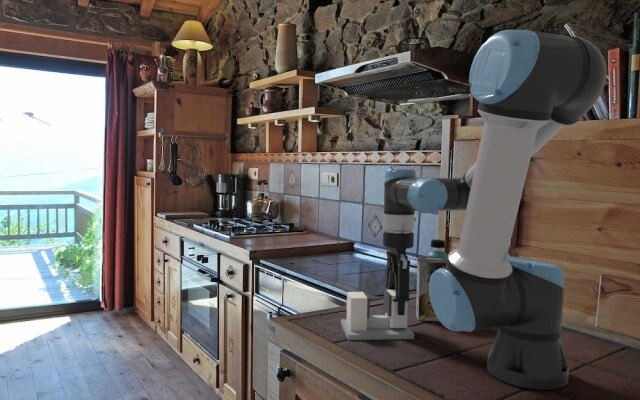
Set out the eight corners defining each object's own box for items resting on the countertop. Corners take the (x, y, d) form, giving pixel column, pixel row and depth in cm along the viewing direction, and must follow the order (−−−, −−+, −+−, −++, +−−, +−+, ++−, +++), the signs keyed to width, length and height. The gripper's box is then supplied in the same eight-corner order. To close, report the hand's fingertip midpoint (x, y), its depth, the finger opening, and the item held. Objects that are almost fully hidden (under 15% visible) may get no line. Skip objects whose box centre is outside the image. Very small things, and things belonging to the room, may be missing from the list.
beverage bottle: (429, 302, 152) (431, 237, 151) (450, 306, 148) (452, 239, 147) (420, 307, 147) (422, 239, 145) (441, 311, 143) (444, 242, 142)
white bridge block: (407, 327, 123) (407, 295, 122) (388, 328, 123) (389, 295, 122) (400, 320, 129) (401, 289, 128) (383, 320, 129) (383, 289, 128)
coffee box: (448, 315, 140) (450, 257, 139) (452, 322, 134) (454, 262, 132) (415, 313, 141) (417, 256, 140) (417, 320, 134) (419, 261, 133)
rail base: (414, 338, 120) (415, 301, 120) (348, 340, 119) (348, 301, 118) (401, 323, 132) (402, 288, 132) (340, 323, 131) (341, 289, 130)
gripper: (425, 236, 115) (422, 335, 117) (403, 226, 134) (400, 311, 136) (393, 236, 114) (390, 336, 116) (375, 226, 133) (373, 311, 135)
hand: (395, 322), depth 126 cm, fingers closed on white bridge block, 6 cm apart
